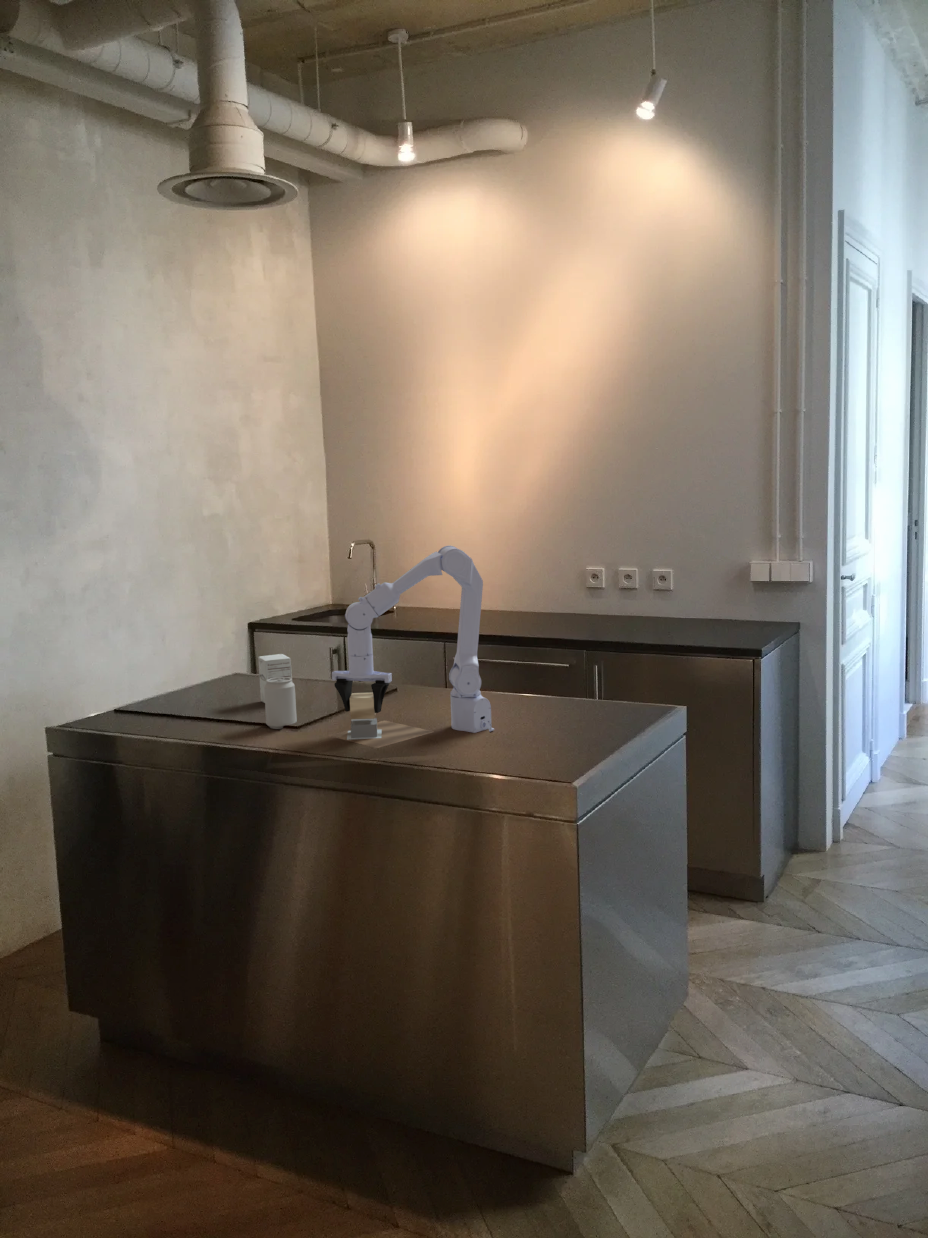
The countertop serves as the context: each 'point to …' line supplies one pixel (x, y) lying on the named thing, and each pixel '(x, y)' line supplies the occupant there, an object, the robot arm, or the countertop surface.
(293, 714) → the can
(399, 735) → the board
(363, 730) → the grey base block
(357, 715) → the maple cube
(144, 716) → the countertop surface
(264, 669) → the supplement box
